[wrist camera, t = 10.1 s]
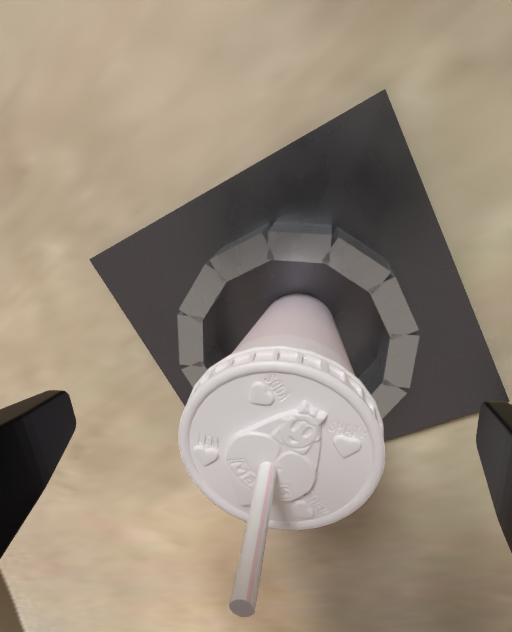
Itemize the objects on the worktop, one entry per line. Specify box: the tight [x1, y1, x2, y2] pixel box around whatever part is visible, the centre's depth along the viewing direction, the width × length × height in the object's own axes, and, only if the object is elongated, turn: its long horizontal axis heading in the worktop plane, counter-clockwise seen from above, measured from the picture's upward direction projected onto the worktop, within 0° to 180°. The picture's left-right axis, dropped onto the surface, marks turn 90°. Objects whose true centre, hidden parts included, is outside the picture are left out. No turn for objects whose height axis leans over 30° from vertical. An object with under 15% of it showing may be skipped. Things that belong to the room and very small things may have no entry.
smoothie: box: [178, 294, 385, 617], centre depth 15 cm, size 6×6×14 cm
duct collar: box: [89, 89, 509, 441], centre depth 21 cm, size 16×16×3 cm
